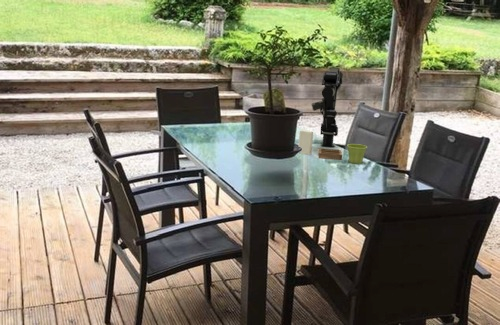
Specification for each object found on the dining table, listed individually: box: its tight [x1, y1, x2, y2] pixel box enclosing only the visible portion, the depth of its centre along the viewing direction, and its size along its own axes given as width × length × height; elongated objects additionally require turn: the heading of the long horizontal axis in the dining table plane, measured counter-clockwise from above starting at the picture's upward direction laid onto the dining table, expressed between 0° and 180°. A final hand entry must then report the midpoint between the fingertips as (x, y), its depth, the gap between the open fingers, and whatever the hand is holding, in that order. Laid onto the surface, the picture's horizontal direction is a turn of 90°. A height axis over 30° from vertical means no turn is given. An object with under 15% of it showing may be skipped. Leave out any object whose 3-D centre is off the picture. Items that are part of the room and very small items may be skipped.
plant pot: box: [346, 143, 368, 165], centre depth 263 cm, size 9×9×9 cm
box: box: [317, 147, 343, 161], centre depth 272 cm, size 12×11×3 cm
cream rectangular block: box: [298, 129, 314, 155], centre depth 275 cm, size 3×6×12 cm, turn 60°
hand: (326, 127), depth 282 cm, fingers open, 9 cm apart
